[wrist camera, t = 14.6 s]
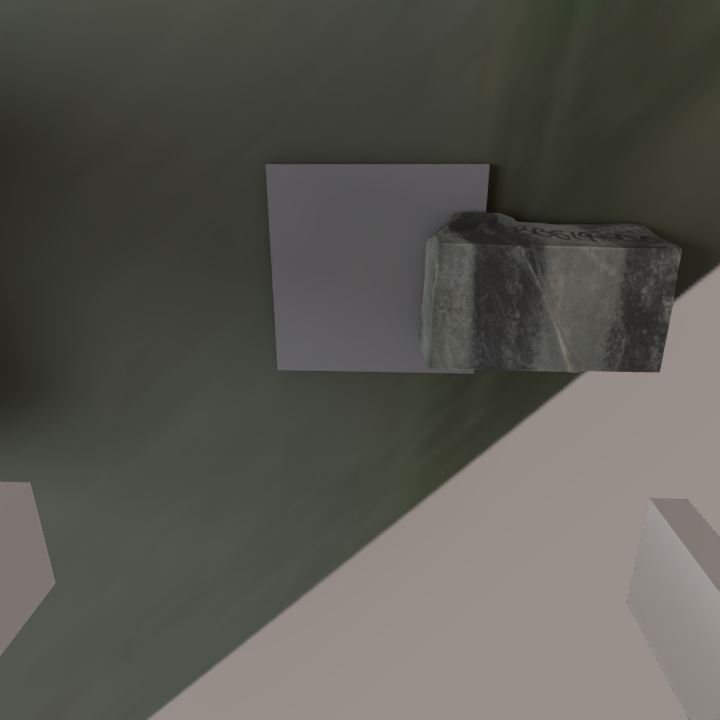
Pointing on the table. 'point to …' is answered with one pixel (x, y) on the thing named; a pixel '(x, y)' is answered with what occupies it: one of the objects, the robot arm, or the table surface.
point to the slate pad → (358, 259)
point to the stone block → (546, 296)
